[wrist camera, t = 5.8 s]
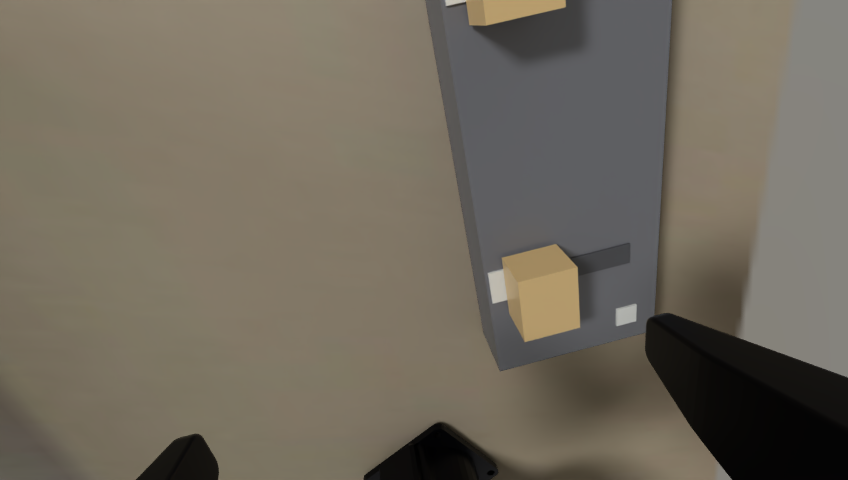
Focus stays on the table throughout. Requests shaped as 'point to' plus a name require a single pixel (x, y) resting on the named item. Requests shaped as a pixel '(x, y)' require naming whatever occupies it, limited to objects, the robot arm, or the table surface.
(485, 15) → the outlet switch
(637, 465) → the table surface
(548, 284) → the outlet switch
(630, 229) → the grey slider switch box
